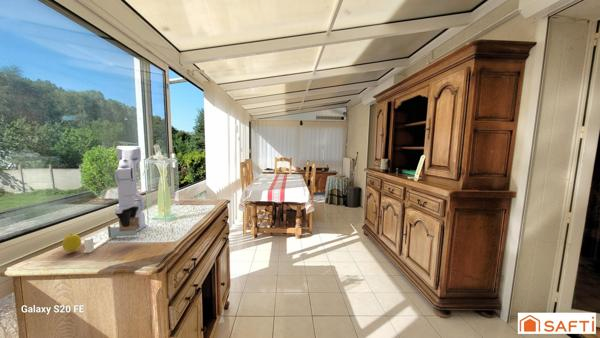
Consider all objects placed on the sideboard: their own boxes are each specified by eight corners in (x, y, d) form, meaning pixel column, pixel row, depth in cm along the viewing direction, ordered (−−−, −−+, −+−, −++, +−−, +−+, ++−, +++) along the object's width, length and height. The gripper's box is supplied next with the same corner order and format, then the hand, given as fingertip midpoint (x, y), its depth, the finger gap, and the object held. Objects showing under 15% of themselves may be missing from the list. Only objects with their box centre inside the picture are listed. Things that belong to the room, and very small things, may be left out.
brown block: (124, 228, 106) (123, 217, 105) (139, 227, 107) (138, 216, 106) (119, 231, 102) (118, 220, 101) (135, 230, 103) (134, 219, 102)
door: (108, 237, 110) (107, 226, 110) (110, 235, 112) (109, 225, 112) (136, 235, 112) (135, 225, 112) (138, 234, 114) (137, 223, 114)
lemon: (60, 256, 93) (58, 237, 92) (66, 251, 97) (64, 232, 97) (79, 253, 95) (77, 234, 94) (84, 248, 100) (82, 230, 99)
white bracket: (110, 236, 114) (110, 225, 113) (116, 235, 114) (115, 225, 114) (83, 253, 96) (82, 240, 95) (90, 252, 96) (89, 239, 96)
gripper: (124, 192, 109) (127, 220, 110) (105, 199, 95) (108, 231, 96) (141, 191, 110) (143, 219, 112) (125, 198, 96) (127, 230, 97)
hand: (128, 224), depth 104 cm, fingers closed on brown block, 4 cm apart
